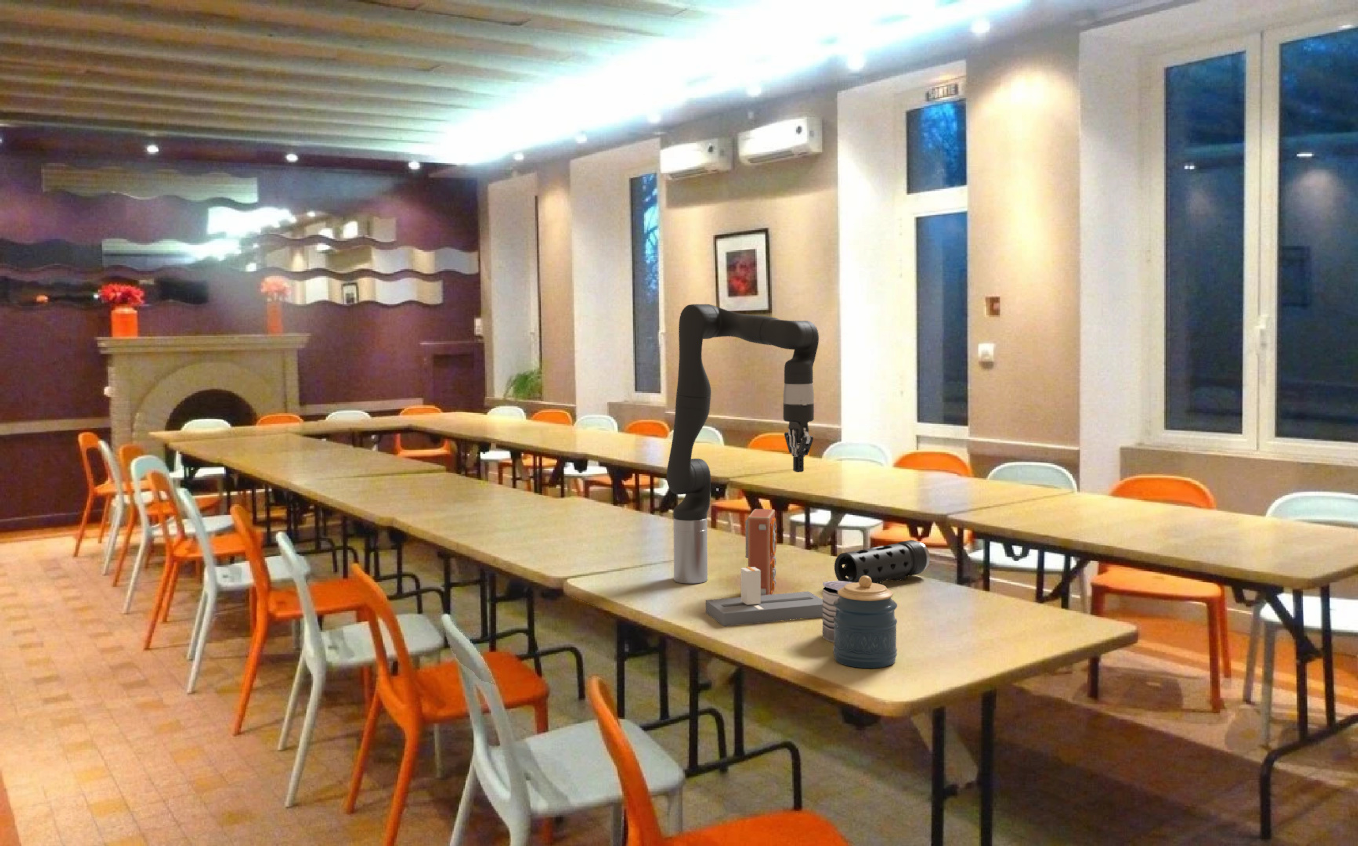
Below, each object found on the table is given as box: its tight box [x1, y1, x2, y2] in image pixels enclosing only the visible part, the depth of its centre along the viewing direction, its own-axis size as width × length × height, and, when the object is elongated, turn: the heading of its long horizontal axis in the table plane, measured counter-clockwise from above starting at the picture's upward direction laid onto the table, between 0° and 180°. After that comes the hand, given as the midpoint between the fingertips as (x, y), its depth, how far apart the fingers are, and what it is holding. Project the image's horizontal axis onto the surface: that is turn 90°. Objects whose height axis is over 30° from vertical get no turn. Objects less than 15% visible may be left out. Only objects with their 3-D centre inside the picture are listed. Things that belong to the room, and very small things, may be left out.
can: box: [822, 580, 855, 643], centre depth 241 cm, size 11×11×12 cm
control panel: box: [744, 508, 778, 595], centre depth 279 cm, size 21×7×15 cm
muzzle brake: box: [833, 539, 931, 585], centre depth 292 cm, size 10×28×10 cm, turn 126°
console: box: [705, 591, 823, 627], centre depth 261 cm, size 13×27×3 cm, turn 107°
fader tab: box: [740, 566, 761, 605], centre depth 259 cm, size 4×4×8 cm
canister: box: [832, 576, 898, 669], centre depth 224 cm, size 13×13×18 cm
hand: (798, 471), depth 269 cm, fingers closed
